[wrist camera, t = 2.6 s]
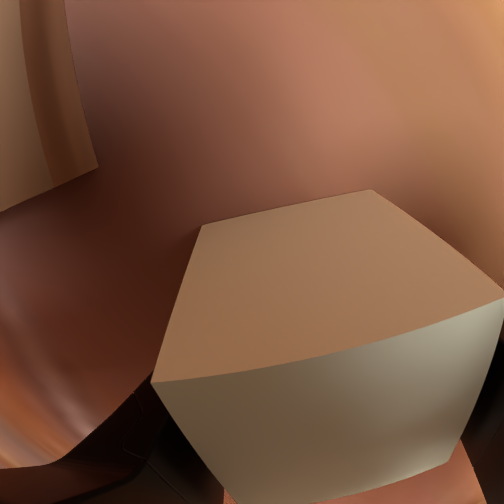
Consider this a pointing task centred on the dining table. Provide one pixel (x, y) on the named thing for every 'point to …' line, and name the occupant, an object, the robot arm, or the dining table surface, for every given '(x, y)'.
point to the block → (325, 349)
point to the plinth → (39, 103)
